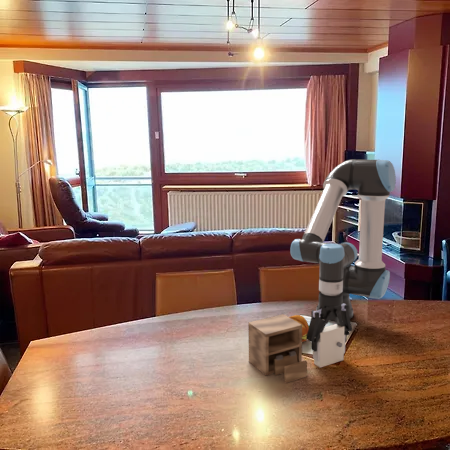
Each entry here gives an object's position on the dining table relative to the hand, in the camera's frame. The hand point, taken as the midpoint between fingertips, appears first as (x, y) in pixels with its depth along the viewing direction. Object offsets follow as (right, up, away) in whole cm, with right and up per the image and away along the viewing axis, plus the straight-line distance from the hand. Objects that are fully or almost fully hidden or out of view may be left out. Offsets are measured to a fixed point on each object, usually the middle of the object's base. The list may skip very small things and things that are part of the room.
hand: (328, 355), depth 148 cm
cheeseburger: (-8, +1, +18) cm, 20 cm away
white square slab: (0, -2, 0) cm, 2 cm away
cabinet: (-16, -3, -3) cm, 17 cm away
